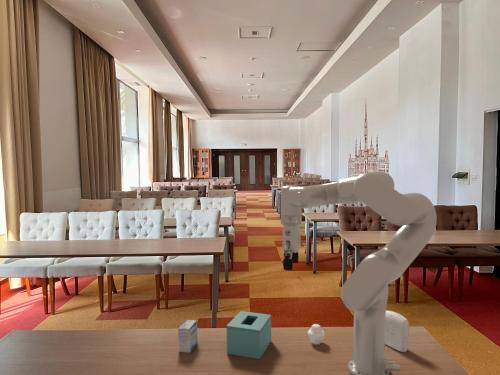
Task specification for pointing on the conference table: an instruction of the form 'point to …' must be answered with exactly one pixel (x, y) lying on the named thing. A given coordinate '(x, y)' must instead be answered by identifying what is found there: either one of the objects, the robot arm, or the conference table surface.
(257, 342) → the teal slotted box
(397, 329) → the photo printer
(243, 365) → the conference table surface
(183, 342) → the medicine box
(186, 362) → the conference table surface
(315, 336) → the white carved egg
